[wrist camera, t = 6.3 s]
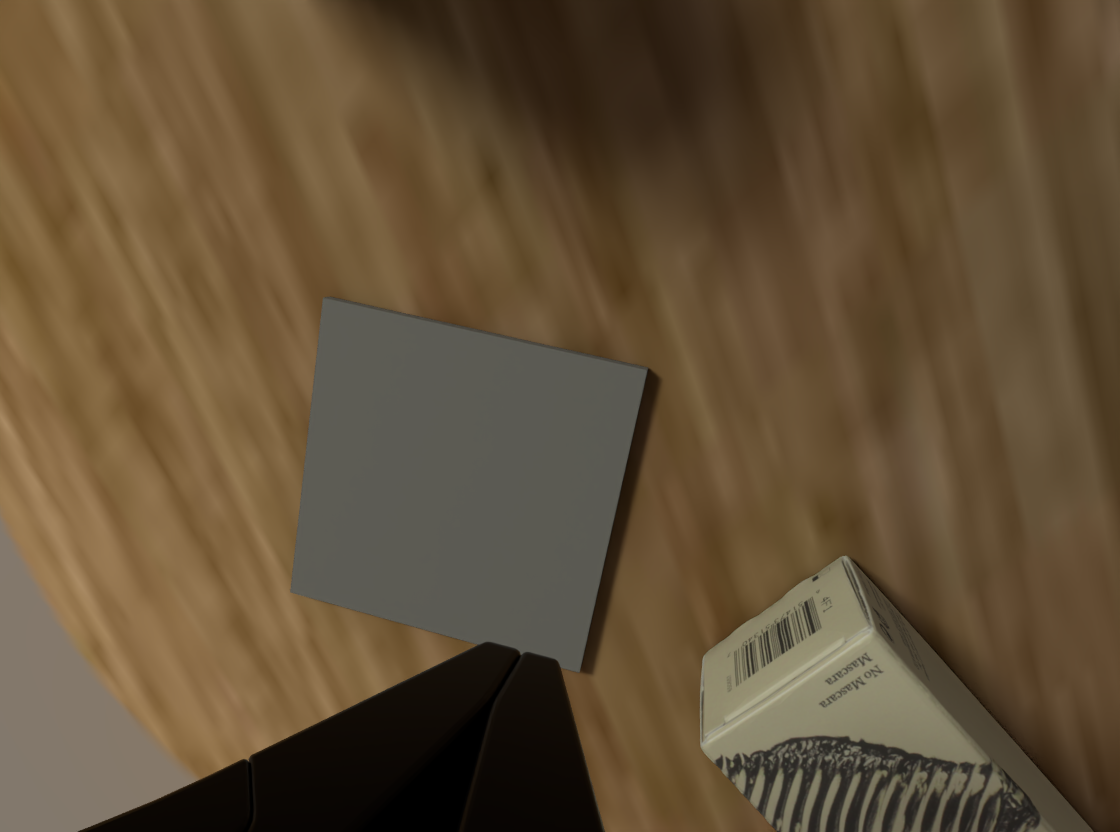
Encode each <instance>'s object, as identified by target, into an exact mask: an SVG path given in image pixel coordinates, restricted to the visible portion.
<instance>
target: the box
mask: <svg viewBox="0 0 1120 832" xmlns="http://www.w3.org/2000/svg"><path fill="white" fill-rule="evenodd" d="M700 744H701V749H702V750H703V752H704V753H705V754H706V755H707V756H708V757H709V759H710V760H711V761H712V762H713V763H714V764H716V765H717V766H718V767H719V768H720V769H721V771H722V772H723V773H724V775H725V776H726V777H727V778H728V779H729V780H730V781H731V782H732V783H733V784H734V785H735V786H736V787H737V788H738V790H739V791H740V792H741V793H742V794H743V795H744V796H745V797H746V798H747V799H748V800H749V801H750V802H751V803H752V805H753V806H754V807H755V808H756V809H757V810H758V811H759V812H760V813H761V814H762V815H763V816H764V817H765V819H766V820H767V821H768V822H769V823H770V824H771V826H772V827H773V828H774V829H775V830H776V831H777V832H1094V831H1093V830H1092V829H1091V828H1090V827H1089V826H1088V825H1087V823H1086V822H1085V821H1084V820H1083V819H1082V818H1081V817H1080V815H1079V814H1078V813H1077V812H1076V811H1075V810H1074V809H1073V807H1072V806H1071V805H1070V804H1069V803H1068V802H1067V801H1066V799H1065V798H1064V797H1063V796H1062V795H1061V794H1060V793H1059V792H1058V790H1057V789H1056V788H1055V787H1054V786H1053V785H1052V784H1051V783H1050V781H1049V780H1048V779H1047V778H1046V777H1045V776H1044V775H1043V773H1042V772H1041V771H1040V770H1039V769H1038V768H1037V767H1036V766H1035V764H1034V763H1033V762H1032V761H1031V760H1030V759H1029V758H1028V756H1027V755H1026V754H1025V753H1024V752H1023V751H1022V750H1021V748H1020V747H1019V746H1018V745H1017V744H1016V743H1015V742H1014V741H1013V739H1012V738H1011V737H1010V736H1009V735H1008V734H1007V733H1006V732H1005V730H1004V729H1003V728H1002V727H1001V726H1000V725H999V724H998V723H997V722H996V720H995V719H994V718H993V717H992V716H991V715H990V714H989V713H988V711H987V710H986V709H985V708H984V707H983V706H982V705H981V703H980V702H979V701H978V700H977V699H976V698H975V697H974V695H973V694H972V693H971V692H970V691H969V690H968V689H967V687H966V686H965V685H964V684H963V683H962V682H961V681H960V680H959V678H958V677H957V676H956V675H955V674H954V673H953V672H952V671H951V669H950V668H949V667H948V666H947V665H946V664H945V663H944V661H943V660H942V659H941V658H940V657H939V656H938V655H937V654H936V652H935V651H934V650H933V649H932V648H931V647H930V646H929V645H928V643H927V642H926V641H925V640H924V639H923V638H922V637H921V636H920V635H919V633H918V632H917V631H916V630H915V629H914V628H913V627H912V626H911V625H910V624H909V622H908V621H907V620H906V619H905V618H904V617H903V616H902V615H901V614H900V612H899V611H898V610H897V609H896V608H895V607H894V606H893V605H892V604H891V602H890V601H889V600H888V599H887V598H886V597H885V596H884V595H883V594H882V592H881V591H880V590H879V589H878V588H877V587H876V586H875V585H874V584H873V583H872V582H871V581H870V579H869V578H868V577H867V576H866V575H865V574H864V573H863V572H862V571H861V570H860V569H859V568H858V566H857V565H856V564H855V563H854V562H853V561H852V560H851V559H850V558H849V557H848V556H842V557H840V558H838V559H837V560H835V561H834V562H833V563H831V564H830V565H828V566H827V567H825V568H824V569H823V570H821V571H820V572H818V573H817V574H815V575H814V576H812V577H810V578H808V579H806V580H804V581H802V582H801V583H799V584H798V585H797V586H795V587H794V588H793V589H791V590H790V591H789V592H788V593H787V594H786V595H785V596H784V597H783V598H782V599H780V600H779V601H778V602H776V603H775V604H773V605H772V606H771V607H769V608H768V609H766V610H765V611H764V612H762V613H761V614H759V615H758V616H756V617H754V618H752V619H750V620H749V621H747V622H746V623H744V624H743V625H741V626H740V627H739V628H738V629H736V630H735V631H734V632H733V633H732V634H731V635H730V636H728V637H727V638H726V639H724V640H723V641H721V642H720V643H719V644H717V645H716V646H715V647H713V648H712V649H710V650H709V651H708V652H707V653H706V654H705V655H704V657H703V661H702V674H701V689H700Z"/></svg>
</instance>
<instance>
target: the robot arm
mask: <svg viewBox="0 0 1120 832" xmlns="http://www.w3.org/2000/svg"><path fill="white" fill-rule="evenodd" d="M78 832H605V830H604V827H603V823H602V819H601V816H600V812H599V808H598V804H597V801H596V797H595V793H594V790H593V786H592V782H591V779H590V775H589V771H588V767H587V764H586V760H585V756H584V753H583V749H582V745H581V742H580V738H579V734H578V730H577V727H576V723H575V719H574V716H573V712H572V708H571V705H570V701H569V697H568V694H567V690H566V686H565V682H564V679H563V675H562V671H561V668H560V664H559V662H558V661H557V660H556V659H554V658H550V657H546V656H543V655H539V654H535V653H531V652H524V653H523V654H522V655H521V654H520V651H519V650H517V649H516V648H512V647H509V646H505V645H501V644H497V643H494V642H484V643H481V644H479V645H477V646H475V647H473V648H471V649H469V650H467V651H465V652H463V653H461V654H459V655H457V656H455V657H453V658H450V659H448V660H446V661H444V662H442V663H440V664H438V665H436V666H434V667H432V668H430V669H428V670H426V671H424V672H422V673H420V674H418V675H415V676H413V677H411V678H409V679H407V680H405V681H403V682H401V683H399V684H397V685H395V686H393V687H391V688H389V689H387V690H385V691H383V692H381V693H378V694H376V695H374V696H372V697H370V698H368V699H366V700H364V701H362V702H360V703H358V704H356V705H354V706H352V707H350V708H348V709H346V710H343V711H341V712H339V713H337V714H335V715H333V716H331V717H329V718H327V719H325V720H323V721H321V722H319V723H317V724H315V725H313V726H311V727H308V728H306V729H304V730H302V731H300V732H298V733H296V734H294V735H292V736H290V737H288V738H286V739H284V740H282V741H280V742H278V743H276V744H274V745H271V746H269V747H267V748H265V749H263V750H261V751H259V752H257V753H255V754H253V755H251V756H250V758H249V761H247V760H246V759H242V760H240V761H238V762H236V763H234V764H232V765H230V766H228V767H226V768H223V769H221V770H219V771H217V772H215V773H213V774H211V775H209V776H207V777H205V778H202V779H200V780H198V781H196V782H194V783H192V784H189V785H187V786H185V787H183V788H181V789H178V790H176V791H174V792H172V793H170V794H167V795H165V796H163V797H161V798H159V799H157V800H154V801H152V802H150V803H147V804H145V805H142V806H140V807H137V808H135V809H132V810H130V811H127V812H125V813H122V814H120V815H118V816H115V817H113V818H110V819H108V820H105V821H103V822H100V823H98V824H96V825H93V826H91V827H88V828H85V829H83V830H80V831H78Z"/></svg>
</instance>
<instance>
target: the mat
mask: <svg viewBox="0 0 1120 832" xmlns="http://www.w3.org/2000/svg"><path fill="white" fill-rule="evenodd" d="M647 372H648V367H643V366H639V365H634V364H630V363H625V362H621V361H616V360H612V359H607V358H603V357H598V356H594V355H589V354H585V353H580V352H576V351H571V350H567V349H562V348H558V347H553V346H549V345H544V344H540V343H535V342H531V341H526V340H522V339H517V338H513V337H509V336H504V335H500V334H495V333H491V332H486V331H482V330H477V329H473V328H468V327H464V326H459V325H455V324H450V323H446V322H441V321H437V320H432V319H428V318H423V317H419V316H414V315H410V314H405V313H401V312H396V311H392V310H387V309H383V308H378V307H374V306H370V305H365V304H361V303H356V302H352V301H347V300H343V299H338V298H334V297H325V298H323V304H322V313H321V322H320V331H319V339H318V348H317V357H316V366H315V375H314V384H313V393H312V402H311V411H310V420H309V429H308V438H307V447H306V456H305V465H304V474H303V483H302V492H301V501H300V510H299V519H298V528H297V537H296V546H295V555H294V564H293V573H292V582H291V591H290V592H291V593H295V594H298V595H302V596H306V597H309V598H313V599H316V600H320V601H323V602H327V603H331V604H334V605H338V606H341V607H345V608H349V609H352V610H356V611H359V612H363V613H367V614H370V615H374V616H377V617H381V618H384V619H388V620H392V621H395V622H399V623H402V624H406V625H410V626H413V627H417V628H420V629H424V630H428V631H431V632H435V633H438V634H442V635H445V636H449V637H453V638H456V639H460V640H463V641H467V642H471V643H474V644H478V645H479V644H481V643H484V642H494V643H497V644H501V645H505V646H509V647H512V648H516V649H517V650H519V651H520V654H521V655H522V654H523V653H524V652H531V653H535V654H539V655H543V656H546V657H550V658H554V659H556V660H557V661H558V662H559V664H560V668H564V669H567V670H571V671H575V672H578V673H579V672H580V669H581V665H582V661H583V656H584V652H585V648H586V643H587V639H588V634H589V630H590V625H591V621H592V616H593V612H594V608H595V603H596V599H597V594H598V590H599V585H600V581H601V576H602V572H603V567H604V563H605V559H606V554H607V550H608V545H609V541H610V536H611V532H612V527H613V523H614V519H615V514H616V510H617V505H618V501H619V496H620V492H621V487H622V483H623V479H624V474H625V470H626V465H627V461H628V456H629V452H630V447H631V443H632V438H633V434H634V430H635V425H636V421H637V416H638V412H639V407H640V403H641V398H642V394H643V390H644V385H645V381H646V376H647Z"/></svg>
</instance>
